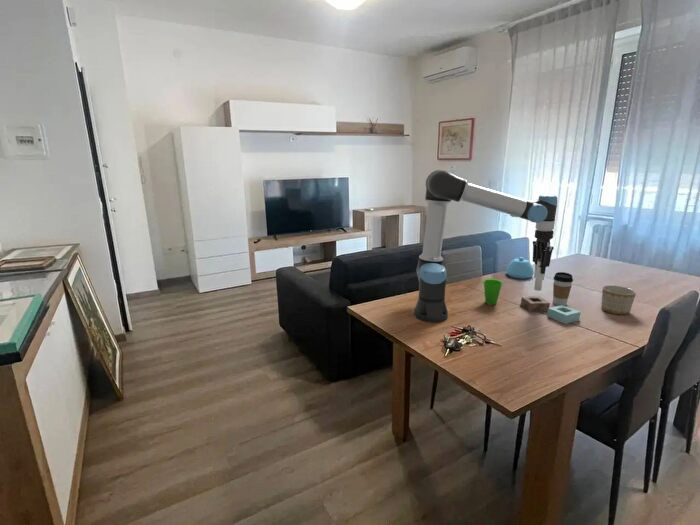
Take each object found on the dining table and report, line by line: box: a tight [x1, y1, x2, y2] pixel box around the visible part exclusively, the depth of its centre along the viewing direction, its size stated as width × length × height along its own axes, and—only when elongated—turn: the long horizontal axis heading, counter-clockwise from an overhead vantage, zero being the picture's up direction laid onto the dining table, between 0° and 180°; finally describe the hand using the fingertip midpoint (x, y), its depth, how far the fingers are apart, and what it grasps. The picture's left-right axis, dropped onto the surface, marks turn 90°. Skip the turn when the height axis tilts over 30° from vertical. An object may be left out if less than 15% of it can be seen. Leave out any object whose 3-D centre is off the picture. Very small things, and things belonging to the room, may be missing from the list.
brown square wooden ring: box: [520, 295, 551, 312], centre depth 179 cm, size 9×9×4 cm
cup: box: [482, 278, 504, 306], centre depth 185 cm, size 9×9×11 cm
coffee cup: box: [552, 271, 574, 306], centre depth 182 cm, size 8×8×15 cm
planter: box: [601, 284, 637, 316], centre depth 173 cm, size 13×13×10 cm
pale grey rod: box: [534, 258, 543, 292], centre depth 175 cm, size 3×3×15 cm
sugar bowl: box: [506, 256, 534, 280], centre depth 227 cm, size 15×15×12 cm
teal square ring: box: [546, 305, 581, 325], centre depth 167 cm, size 9×9×4 cm
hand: (538, 278), depth 175 cm, fingers closed on pale grey rod, 2 cm apart
